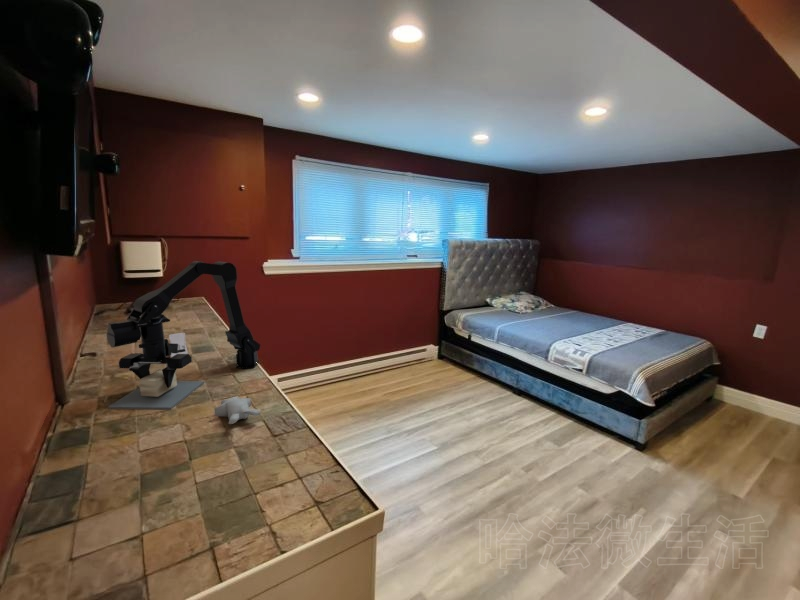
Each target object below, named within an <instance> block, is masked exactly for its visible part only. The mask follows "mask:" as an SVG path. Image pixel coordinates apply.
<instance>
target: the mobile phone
mask: <svg viewBox="0 0 800 600" xmlns="http://www.w3.org/2000/svg"><path fill="white" fill-rule="evenodd" d="M168 337H169V343H173V344H178V351H177V353H171V355H169V357H173V356H175V355H176V354H189V353H188V348H187V345H186V344H187V343H186V341H187V340H186V333H185V332H179V333H172V334H169V336H168Z"/></svg>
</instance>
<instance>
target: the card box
mask: <svg viewBox="0 0 800 600" xmlns="http://www.w3.org/2000/svg"><path fill="white" fill-rule="evenodd" d="M176 371H177V370H176ZM176 371H175V374H174V377H173V380H172V384H171V387H169V388H167V386H166V383H165V379H164V376H163V372H162V369H158V370H156V371H154V372H152V373H150V375H148V376H146V377H144V378H141V379H140V378H139V379H138V383H139V387H140V392H141V396H155V397H158V396H160V395H162V394H163V393H165V392H167V391H168V390H170V389H172V388H173V387H175V386H177V381H178V380H177V372H176Z"/></svg>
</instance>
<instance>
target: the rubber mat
mask: <svg viewBox="0 0 800 600" xmlns="http://www.w3.org/2000/svg"><path fill="white" fill-rule="evenodd" d="M204 384H205V381H204V380H200V381H199V380H177V386H175V387H173V388H172V389H170V390H168V391H167V392H165V393H163V394H162V395H160V396H158V397H155V396H141V392H140V386H139V387H137V388H135V389H134V390H133V391H131V392H129V393H127V394H125V395H124V396H122V397H121V398H120V399H118V400H117V401H115V402H113V403H111V404H109V405H108V406H107V409H108V408H112V409H113V410H172V409H174V408H175V407H176V406H177V405H178V404H179V403H181V402H182V401H184V400H185V399H186V398H187V397H188V396H190V395H191V394H192V393H193V391H194V392H195V391H197V389H199V388H200V387H201V386H202V385H204ZM112 409H111V410H112Z"/></svg>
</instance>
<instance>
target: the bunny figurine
mask: <svg viewBox="0 0 800 600" xmlns="http://www.w3.org/2000/svg"><path fill="white" fill-rule="evenodd" d="M251 406H252V398H251V397H244V398H243V397H242V398H240V397H239V396H238V395H236V396H233V397H229V398H226V399H222V400H221V401H220V405H218V406H216V407H214V409H213V410H214V415H215V417H227V418H228V425H232V424H235V423H237V422H238V421H239V420H246V419H247V418H249V417H250V416H252V417H254V416H255V417H257V416H260V415H261V412H260V410H259V409H257V408H256V409H255V408H250V407H251Z"/></svg>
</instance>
